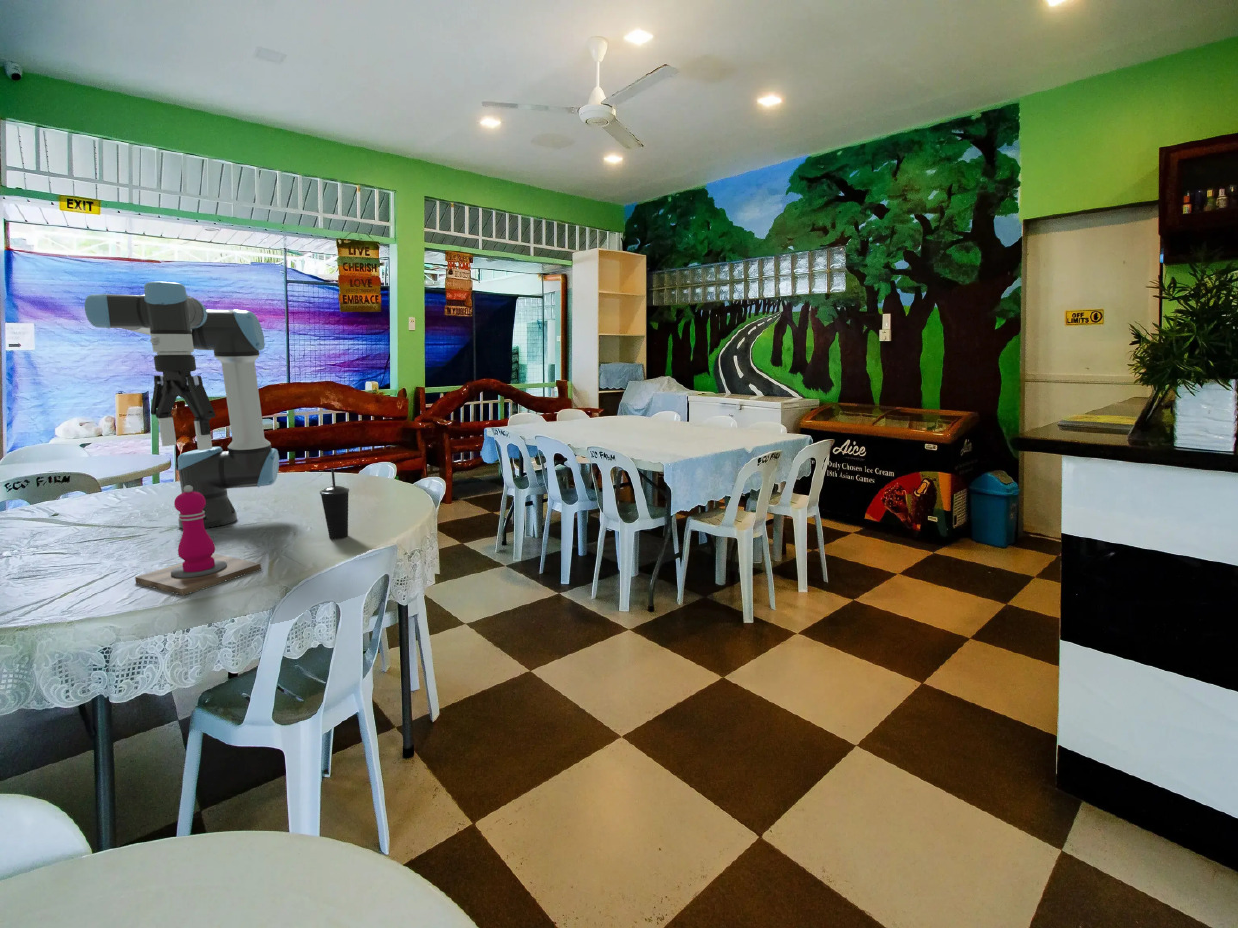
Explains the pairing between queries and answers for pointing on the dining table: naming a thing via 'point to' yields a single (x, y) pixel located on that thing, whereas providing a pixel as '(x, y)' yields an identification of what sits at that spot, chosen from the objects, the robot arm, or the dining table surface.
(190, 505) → the pepper mill
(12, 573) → the dining table surface
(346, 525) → the drinking cup
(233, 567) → the mount board
